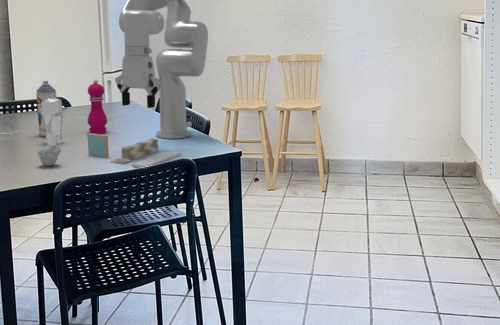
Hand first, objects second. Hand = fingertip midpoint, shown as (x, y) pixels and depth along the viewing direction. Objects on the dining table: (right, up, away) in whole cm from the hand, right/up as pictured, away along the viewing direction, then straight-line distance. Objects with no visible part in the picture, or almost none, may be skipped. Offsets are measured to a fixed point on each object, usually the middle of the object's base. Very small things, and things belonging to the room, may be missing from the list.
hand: (138, 106), depth 209 cm
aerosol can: (-39, -8, +33) cm, 52 cm away
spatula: (-1, -16, +3) cm, 16 cm away
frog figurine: (-25, -19, -9) cm, 33 cm away
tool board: (+6, -17, -3) cm, 19 cm away
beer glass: (-33, -11, +22) cm, 42 cm away
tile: (-13, -16, +3) cm, 21 cm away
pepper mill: (-22, -7, +39) cm, 46 cm away
